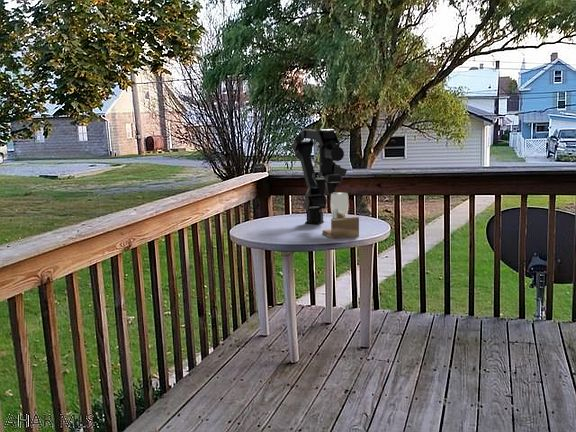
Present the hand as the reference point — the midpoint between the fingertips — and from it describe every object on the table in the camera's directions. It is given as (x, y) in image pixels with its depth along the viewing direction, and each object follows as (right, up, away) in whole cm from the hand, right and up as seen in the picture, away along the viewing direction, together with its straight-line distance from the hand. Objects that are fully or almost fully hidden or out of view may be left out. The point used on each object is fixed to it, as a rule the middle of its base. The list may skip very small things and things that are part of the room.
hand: (326, 197), depth 232 cm
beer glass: (+4, -14, -12) cm, 19 cm away
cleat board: (+4, -15, -12) cm, 19 cm away
